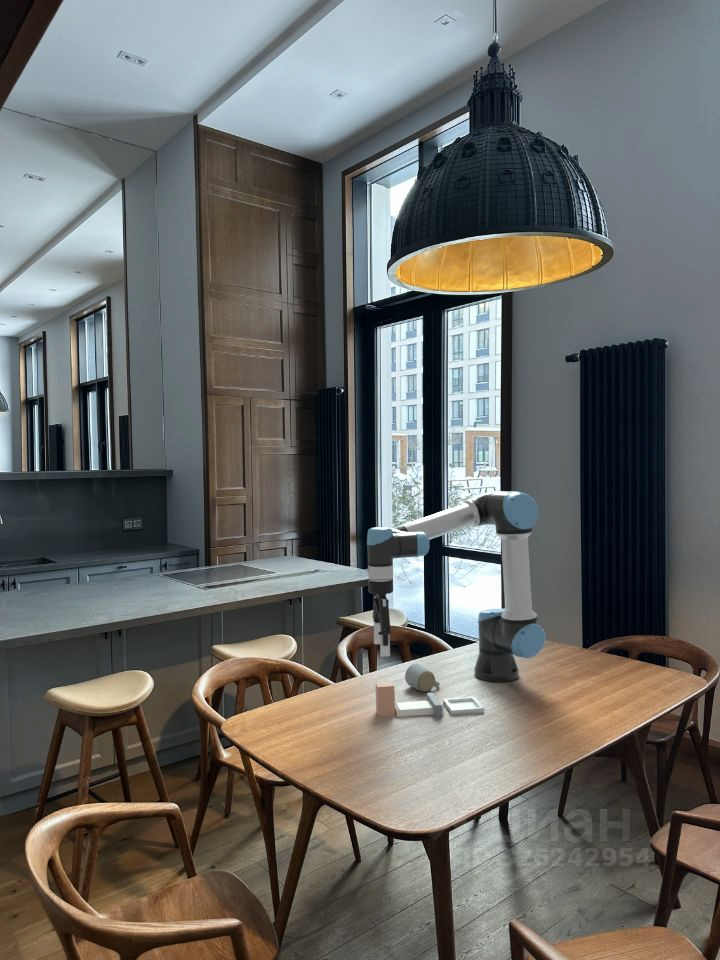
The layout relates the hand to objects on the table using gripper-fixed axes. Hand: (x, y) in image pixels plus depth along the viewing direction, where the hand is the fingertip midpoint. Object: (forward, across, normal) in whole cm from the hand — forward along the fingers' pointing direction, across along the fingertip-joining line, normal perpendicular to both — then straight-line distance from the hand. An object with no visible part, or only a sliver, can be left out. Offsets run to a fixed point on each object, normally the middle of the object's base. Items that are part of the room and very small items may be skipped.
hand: (381, 649), depth 205 cm
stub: (+19, +1, +1) cm, 19 cm away
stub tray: (+19, 0, +25) cm, 31 cm away
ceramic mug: (+19, -20, +17) cm, 32 cm away
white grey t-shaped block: (+19, +1, +11) cm, 22 cm away
